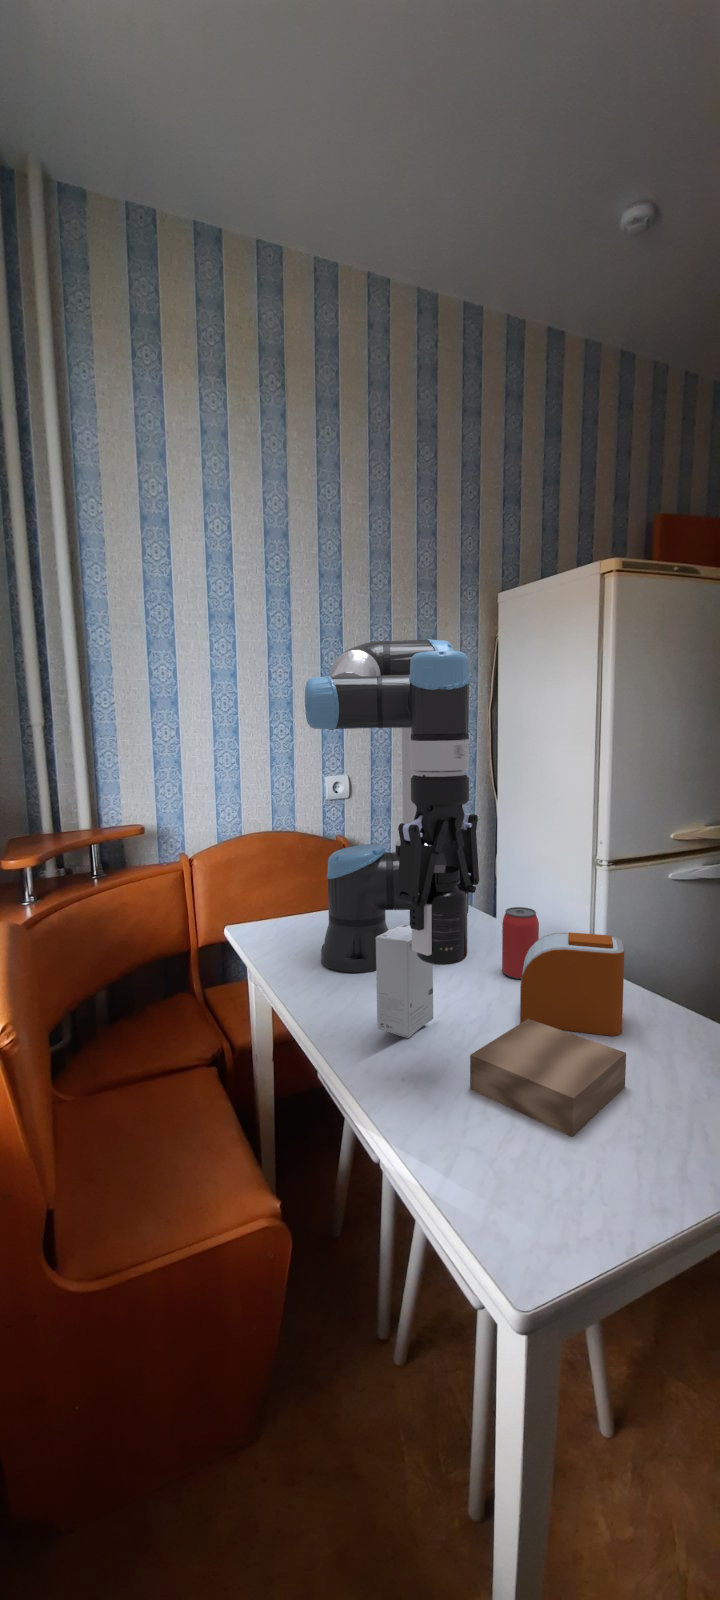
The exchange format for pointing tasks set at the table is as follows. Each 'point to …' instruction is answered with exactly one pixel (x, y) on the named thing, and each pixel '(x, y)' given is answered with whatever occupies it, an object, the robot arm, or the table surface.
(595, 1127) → the table surface
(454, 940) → the supplement bottle
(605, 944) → the alarm clock
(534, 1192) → the table surface
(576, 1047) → the walnut block
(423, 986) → the skincare box
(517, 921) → the beer can
